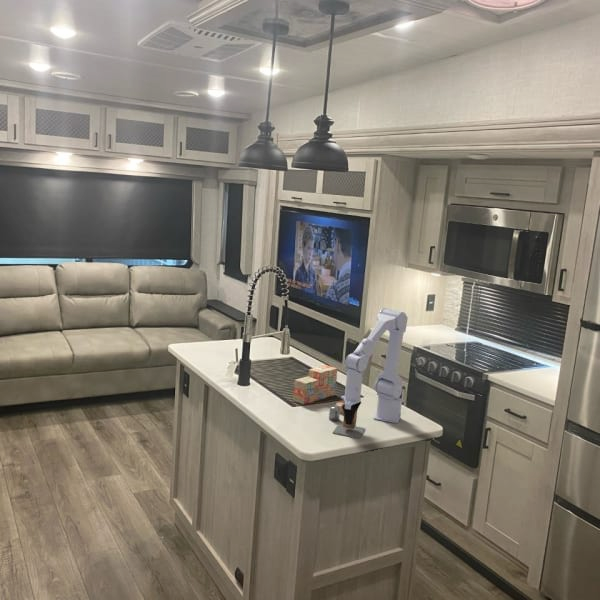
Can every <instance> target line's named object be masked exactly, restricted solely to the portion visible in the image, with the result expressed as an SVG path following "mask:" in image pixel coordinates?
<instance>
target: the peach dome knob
mask: <svg viewBox="0 0 600 600" xmlns="http://www.w3.org/2000/svg"><path fill="white" fill-rule="evenodd" d="M343 404H345V402H337V403H336V404H335V406H339V407H340V415H344V411H343V409H342V405H343Z"/></svg>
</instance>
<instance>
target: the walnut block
mask: <svg viewBox="0 0 600 600" xmlns="http://www.w3.org/2000/svg"><path fill="white" fill-rule="evenodd" d="M357 417H358V410H356V412H355V414H354V418H353V422H352V424H351V425H349V424H346V423H345V415H344V414H343V422H342V424H343V427H345V428H350V429H354V428H355V426H357Z"/></svg>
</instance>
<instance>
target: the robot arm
mask: <svg viewBox="0 0 600 600" xmlns="http://www.w3.org/2000/svg"><path fill="white" fill-rule="evenodd" d="M407 323H408V316H407V315H406V313H405V312H404V311H398V310H392V309H389V308H385V307H383V308H381V309H380V310H379V312H378V314H377V315H376V323H375V325H374V326H373V328H372V330H371V331H370V332H369V334H368V336H367V338H363V339H362V340H361V341H360V343H359V344H358V345H357V347H356V349H355V350H354V351H353V352H352V353H350V354H348V355H346V357H345V359H344V362H343V363H344V367H345V373H346V380H345V387H344V388H345V390H344V395H341V397H340V398H341V400H343V401H344V403H345V404H343V405H342V409H343V411H344V414H343V416H344V415H345V423H346V424H349V425H351V424H352V422H353V418H354V414H355V412H356V410H357V411H358V410H359V407H360V406H361V404H362V401H361V396H362V395H361V394H362V383H363V377H364V376H363V374H364V371H365V370H366V369H367V367H368V363H369V359H370V357H371V355H372V354H373V353H374V351H375V350H376V348H377V345H376V344H377V342H378V341H379V340H380V339H381V337H382V336H383V335H384V334H385V333H386V331H388V332H389V338H388V341H387V342H388V343H387V349H386V355H385V361H384V367H383V372H381V373H378V375H377V377H376V381H375V382H374V391H375V393H376V395H377V396H378V398H377V406H376V413H375V415H374V417H373V420H377V421H383V422H387V423H392V424H393V423H394V424H398V423H399V421H400V419H401V415H402V406H403V405H402V402H403V400H402V398H400V397H401V395H402V393H403V379H402V377H401V376H400V375H399V374H398V369H399V363H400V359H401V358H400V357H401V350H402V346H403V339H404V333H406V330H407V325H408V324H407Z"/></svg>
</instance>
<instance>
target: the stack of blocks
mask: <svg viewBox="0 0 600 600" xmlns="http://www.w3.org/2000/svg"><path fill="white" fill-rule="evenodd" d="M337 380H338V368H337V367H334V366H330V365H328V364H327V365H320V366H317V367H313V368H310V369H308V375H307V376H304V377H300V378H297V379H294V386H293V394H292V401H293V402H295V403H299V404H302V405H307V404H311V403H314V402H317V401H320V400H323V399H327V398H329V397H333V396H335V395H336V387H337Z"/></svg>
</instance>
